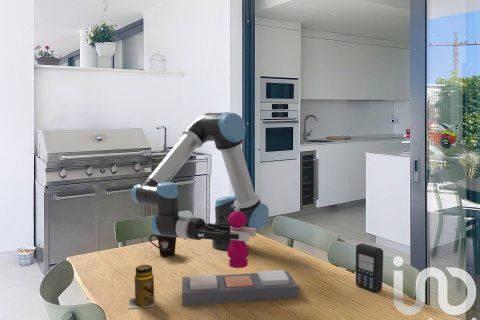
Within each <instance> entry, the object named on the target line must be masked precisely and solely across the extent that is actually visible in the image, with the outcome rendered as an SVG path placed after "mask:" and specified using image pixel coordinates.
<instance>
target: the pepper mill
mask: <svg viewBox="0 0 480 320" xmlns="http://www.w3.org/2000/svg"><path fill="white" fill-rule="evenodd" d="M234 210H235V212H233V213H231V214H230V215H229V219H228V221H229V223H230V225H231V226H230V231H236V232H244V230H245V226H244V224H245V223H246V216H245V214H244V213H242V212H239V211H240V209H239V208H238V207H236V208H235V209H234ZM249 254H250V252H249V247H248V245H247V241H239V240H231V242H230V244H229V247H228V250H227V256H228V258H229V260H228V265H229V266H228V267H230V268H234V269H243V268H246V267H247V266H248V262H249V261H248V260H249V259H247V257H248V256H249Z"/></svg>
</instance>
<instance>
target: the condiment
mask: <svg viewBox="0 0 480 320" xmlns="http://www.w3.org/2000/svg"><path fill="white" fill-rule="evenodd" d="M154 278H155V277H154V274H153V266H152V265H149V264H141V265H137V266H136V267H135V275H134V297H133V298H128V309H139V308H148V307H156V305H157V303H156V296H155V280H154Z"/></svg>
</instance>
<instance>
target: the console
mask: <svg viewBox="0 0 480 320" xmlns="http://www.w3.org/2000/svg"><path fill="white" fill-rule="evenodd" d="M283 271H284V270H283ZM284 272H285V274H286V275H287V277H288V279H289V284H282V285H266V286H262V285H261V283H260V281H259V278H258V272H253V273H252V272H250V273H237V274H236V273H235V274H219V275H217V274H216V279H217V287H218V288H216V289H200V290H190V276H183V277H182V279H181V280H182V284H181V286H182V287H181V288H182V289H181V297H182V298H181V302H182V306H193V305H209V304H224V303H225V304H226V303H237V302H239V303H240V302H242V303H243V302H252V301H253V302H254V301H257V302H258V301H268V300H269V301H271V300H272V301H273V300H283V299H284V300H287V299H298V298H299V285H298V284H297V282H296V280H295V279H294V278H293V276H292V274H291V273H290V272H289V271H284ZM247 275H250V277H251V280H252V282H253V285H254V286H249V287H233V288H226V287H225V282H224V277H229V276H247Z"/></svg>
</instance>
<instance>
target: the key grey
mask: <svg viewBox="0 0 480 320" xmlns="http://www.w3.org/2000/svg"><path fill="white" fill-rule="evenodd" d="M257 273H258V278H259V281H260V283H261V285H262V286H266V285H282V284H289V279H288V277H287V275H286V274H285V272H284V269H278V270H277V269H276V270H261V271H260V270H259V271H257Z"/></svg>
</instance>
